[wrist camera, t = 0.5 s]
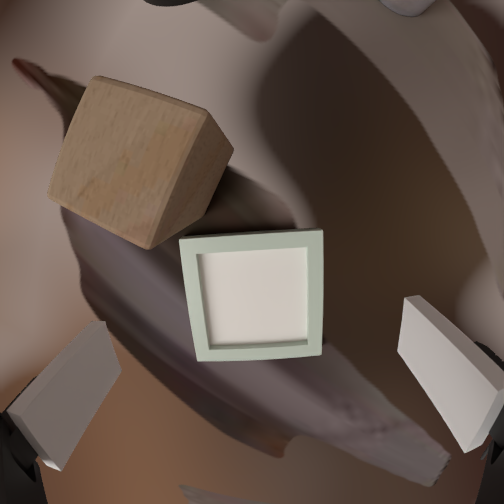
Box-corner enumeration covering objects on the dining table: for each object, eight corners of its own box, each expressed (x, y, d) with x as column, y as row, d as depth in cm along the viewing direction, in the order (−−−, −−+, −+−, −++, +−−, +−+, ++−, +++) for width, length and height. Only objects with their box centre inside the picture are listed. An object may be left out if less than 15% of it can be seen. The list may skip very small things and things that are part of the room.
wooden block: (235, 148, 36) (211, 110, 16) (203, 218, 38) (149, 253, 18) (167, 120, 35) (91, 72, 16) (138, 188, 37) (43, 198, 18)
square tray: (183, 236, 39) (178, 239, 36) (319, 227, 38) (322, 230, 36) (199, 353, 43) (197, 361, 40) (318, 347, 42) (321, 354, 40)
